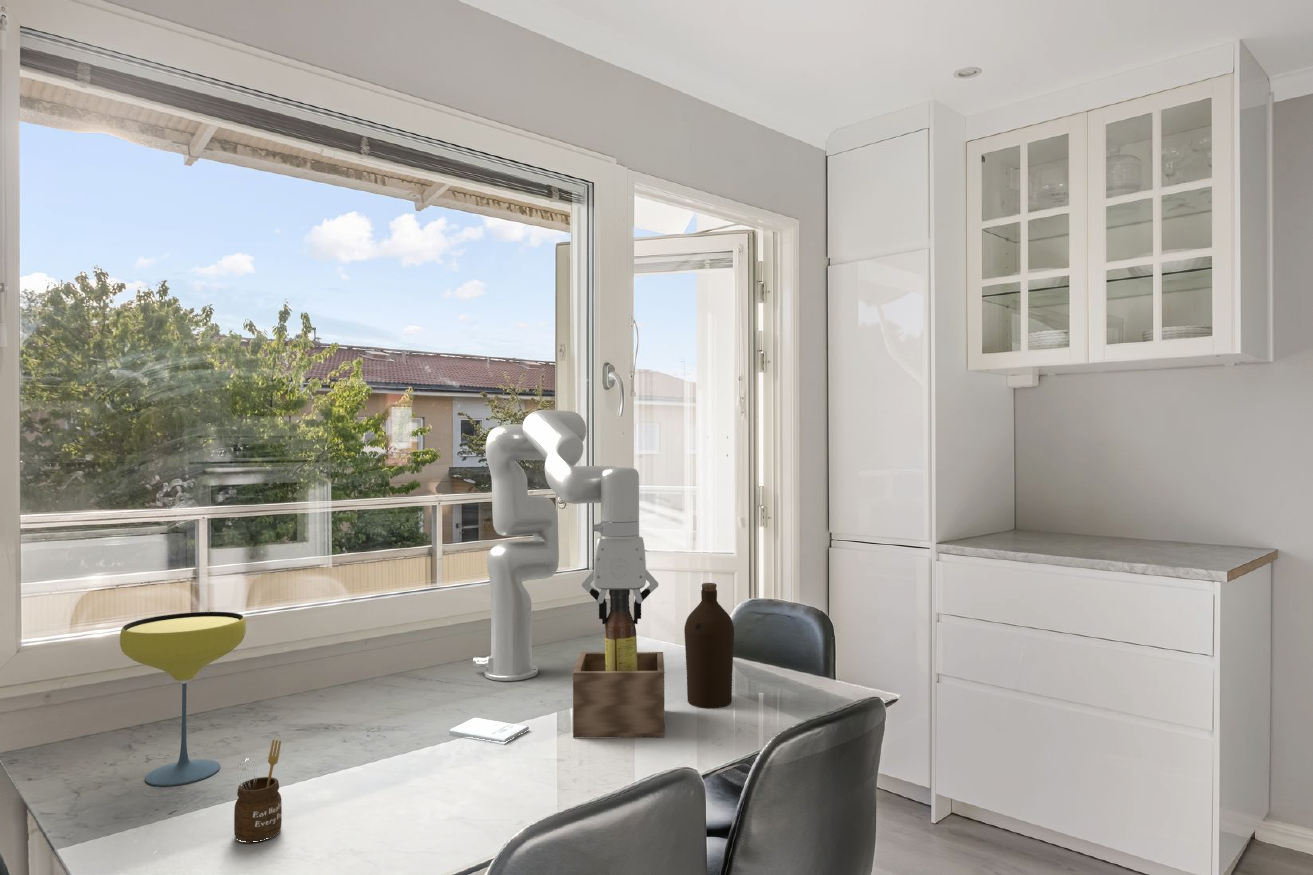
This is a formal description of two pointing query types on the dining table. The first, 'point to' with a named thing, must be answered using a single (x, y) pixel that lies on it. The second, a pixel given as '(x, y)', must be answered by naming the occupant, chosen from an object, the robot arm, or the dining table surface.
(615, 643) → the sauce bottle
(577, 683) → the walled box
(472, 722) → the external hard drive
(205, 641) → the cocktail glass
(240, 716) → the dining table surface
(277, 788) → the utensil holder
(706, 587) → the olive oil
